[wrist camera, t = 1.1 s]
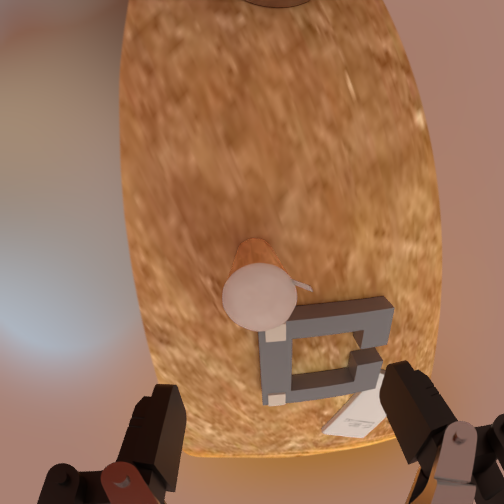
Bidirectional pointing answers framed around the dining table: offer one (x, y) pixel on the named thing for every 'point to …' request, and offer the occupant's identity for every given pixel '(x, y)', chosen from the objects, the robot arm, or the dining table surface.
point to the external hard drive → (358, 414)
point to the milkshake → (259, 288)
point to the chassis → (319, 324)
